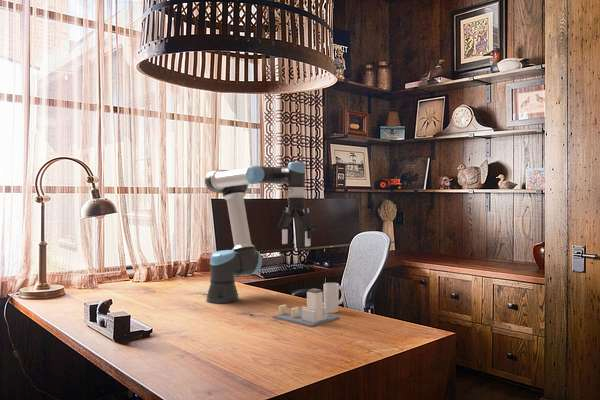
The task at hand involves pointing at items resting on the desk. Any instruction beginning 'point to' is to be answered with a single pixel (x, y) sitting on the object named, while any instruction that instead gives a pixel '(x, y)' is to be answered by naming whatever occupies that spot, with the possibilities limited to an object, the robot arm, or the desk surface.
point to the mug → (332, 297)
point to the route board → (303, 316)
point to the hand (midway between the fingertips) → (296, 245)
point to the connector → (315, 302)
